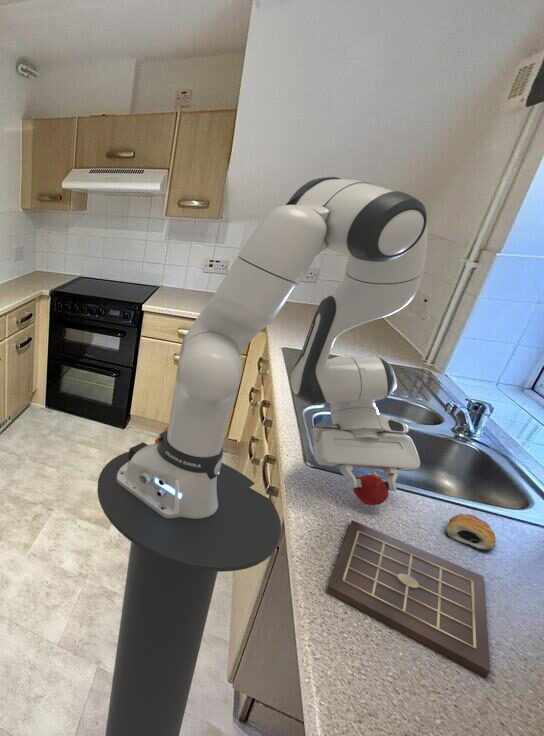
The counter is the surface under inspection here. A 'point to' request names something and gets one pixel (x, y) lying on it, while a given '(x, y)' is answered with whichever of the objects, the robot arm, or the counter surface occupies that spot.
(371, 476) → the onion
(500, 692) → the counter surface
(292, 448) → the counter surface
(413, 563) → the grid board
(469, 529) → the pastry
